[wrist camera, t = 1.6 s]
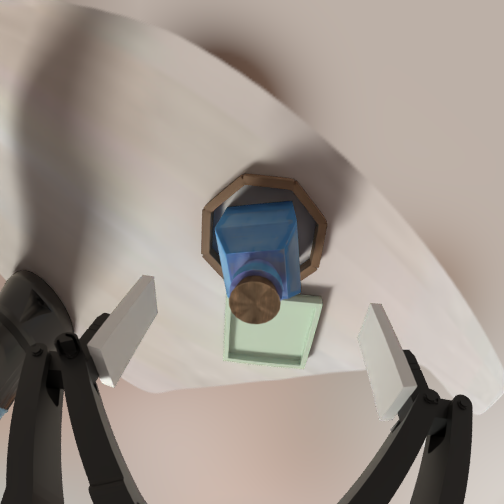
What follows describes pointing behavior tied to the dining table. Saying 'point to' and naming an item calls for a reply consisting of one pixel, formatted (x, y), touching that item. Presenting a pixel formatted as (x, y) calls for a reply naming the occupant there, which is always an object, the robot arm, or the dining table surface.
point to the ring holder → (271, 182)
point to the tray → (274, 335)
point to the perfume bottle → (259, 258)
